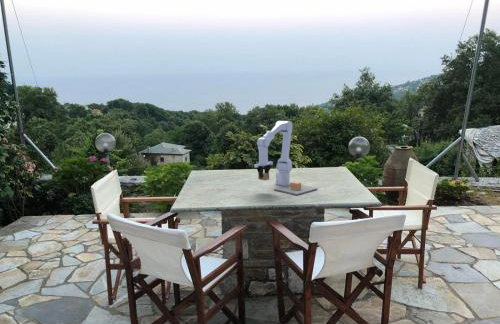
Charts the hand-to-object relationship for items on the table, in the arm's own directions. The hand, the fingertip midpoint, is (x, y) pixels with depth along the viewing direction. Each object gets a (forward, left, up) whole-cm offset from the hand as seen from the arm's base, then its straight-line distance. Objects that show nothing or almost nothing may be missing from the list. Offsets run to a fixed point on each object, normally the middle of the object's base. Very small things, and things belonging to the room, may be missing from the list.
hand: (263, 177), depth 255 cm
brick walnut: (0, 0, -2) cm, 2 cm away
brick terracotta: (+13, +16, -8) cm, 22 cm away
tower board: (+13, +16, -9) cm, 23 cm away
